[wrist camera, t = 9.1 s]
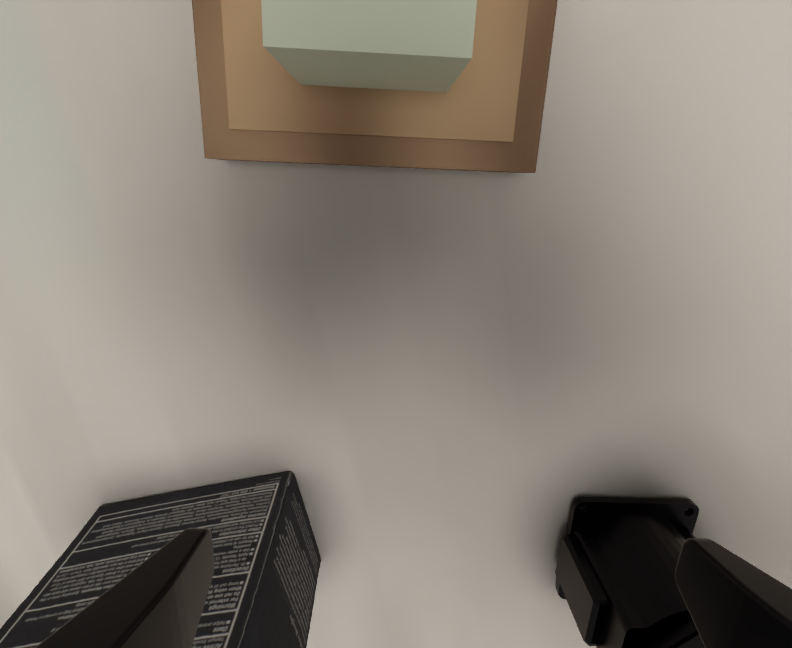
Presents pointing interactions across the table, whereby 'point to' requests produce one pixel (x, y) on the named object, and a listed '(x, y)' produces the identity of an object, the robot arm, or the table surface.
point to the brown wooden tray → (376, 98)
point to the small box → (233, 563)
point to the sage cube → (371, 41)
